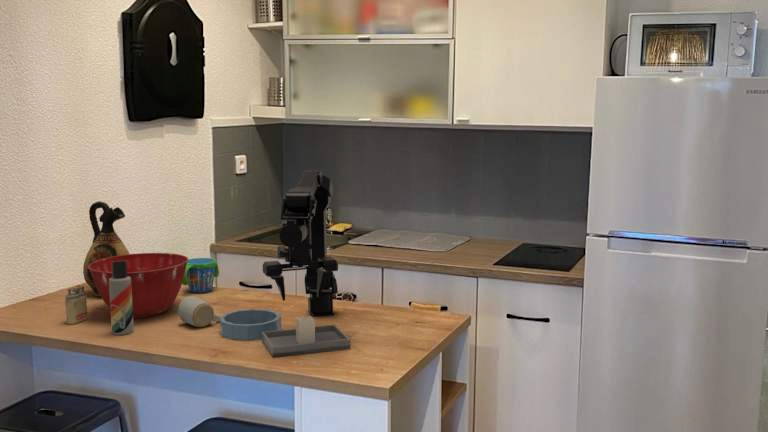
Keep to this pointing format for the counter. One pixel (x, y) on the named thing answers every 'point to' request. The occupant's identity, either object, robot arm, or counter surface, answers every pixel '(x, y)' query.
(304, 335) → the beige rectangular block
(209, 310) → the ceramic mug
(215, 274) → the snack cup
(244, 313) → the blue ring
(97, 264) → the mixing bowl
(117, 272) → the lotion bottle
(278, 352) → the tray
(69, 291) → the lighter
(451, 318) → the counter surface
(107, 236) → the ceramic jug
